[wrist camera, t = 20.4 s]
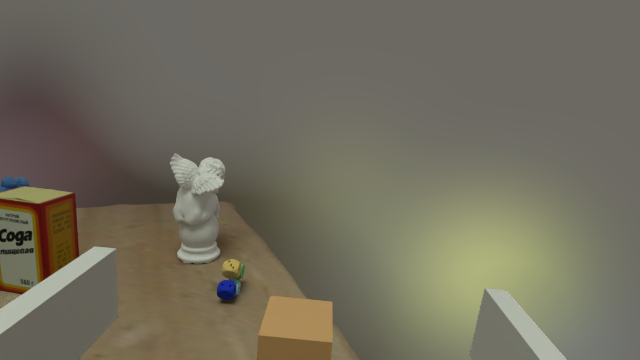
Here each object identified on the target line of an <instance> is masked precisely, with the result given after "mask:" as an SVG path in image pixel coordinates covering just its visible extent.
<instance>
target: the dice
mask: <svg viewBox="0 0 640 360" xmlns="http://www.w3.org/2000/svg"><path fill="white" fill-rule="evenodd" d="M222 274H223V276H224V277H226V278H229V280H224V281H221V282H220V283H219V285H218V288H217V295H218V297H220V298H221V299H224V300H229V299H232V298H234V297H235V296H237V295H239V292H240V288H241V283H240V282H239V281H238V280H239V279H241V278H242V277H243V274H244V265H243V264H242V263H240V262H239V261H237V260H235V259H229V260H227V261H225V262H224V264H223V268H222Z"/></svg>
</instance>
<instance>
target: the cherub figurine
mask: <svg viewBox="0 0 640 360" xmlns="http://www.w3.org/2000/svg"><path fill="white" fill-rule="evenodd" d="M171 160H172V162H170V165H171V166H172V168H171V169H172V170H173V173H174V174H175V178H176V181H177V182H178V184H179V186H181V187H180V188H179V191H178V193H177V198H176V204H175V206H174V208H173V215H174V218H175V221H176V222H177V223H179V224H180V226H179V235H180V239H181V241H182V243H181V249H179V251H178V252H177V256H178V258H179V259H181V261H182V262H184V263H195V264H202V263H209V262H212V261H214V260H216V259H217V258H218V256H219V255H220V249H219V248H218V247H217V243H216V241H215V240H216V238H217V236H218V232H219V226H218V222H217V219H218V217H219V210H220V207H219V203H218V198H217V196H216V195H215V194H216V193H218V189H219V187H221V186H222V184H223V182H224V176H225V170H226V169H225V166H224V165H223V163H222V162H221V161H220V160H218V159H213V158H210V157H209V158H206V159H204V160H203V161H201V163H200V166H199V168H198V167H197V165H196V164H195V163H193V162H191V161H190V160H187V159H183V158H181V157H180V156H179V155H177V154H174V156H173V157H172V158H171Z"/></svg>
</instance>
